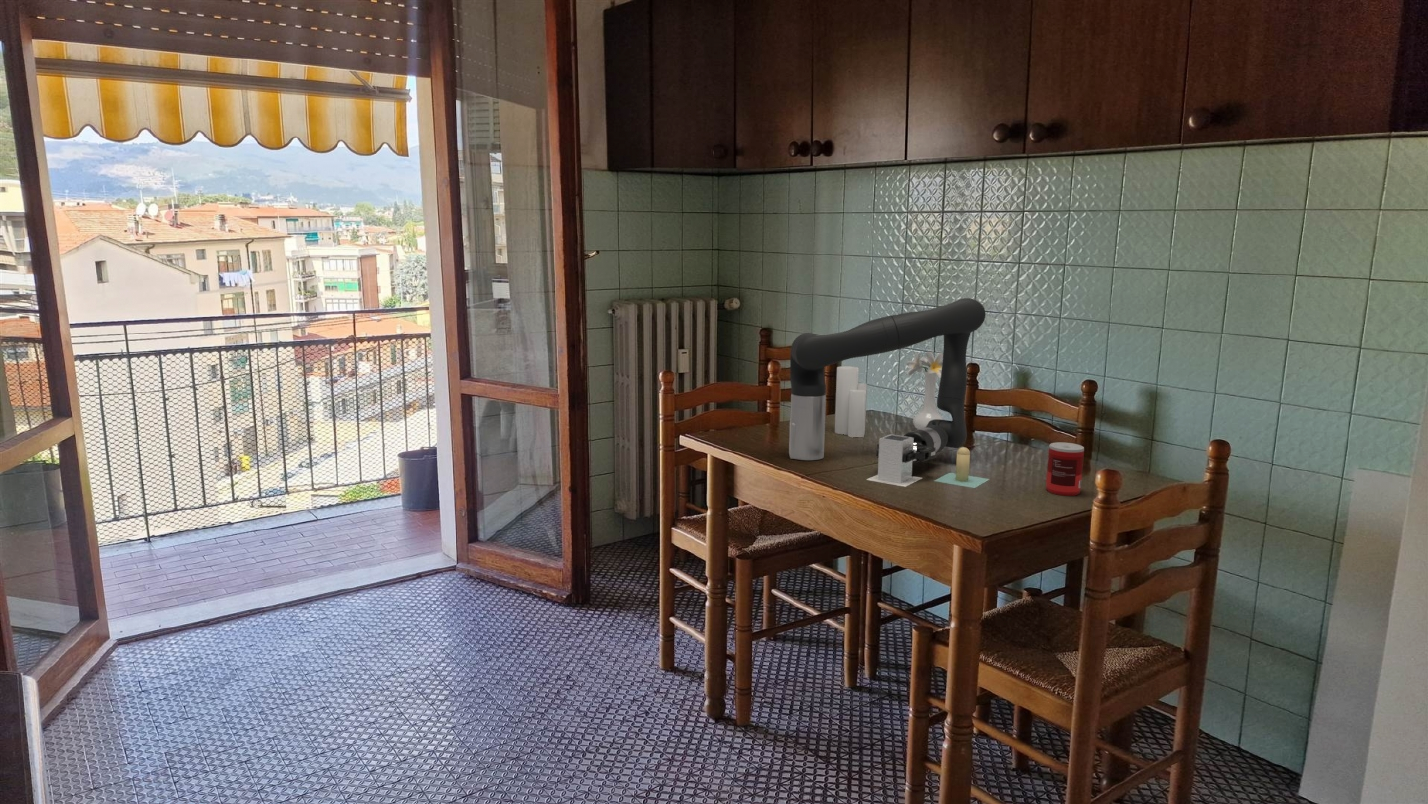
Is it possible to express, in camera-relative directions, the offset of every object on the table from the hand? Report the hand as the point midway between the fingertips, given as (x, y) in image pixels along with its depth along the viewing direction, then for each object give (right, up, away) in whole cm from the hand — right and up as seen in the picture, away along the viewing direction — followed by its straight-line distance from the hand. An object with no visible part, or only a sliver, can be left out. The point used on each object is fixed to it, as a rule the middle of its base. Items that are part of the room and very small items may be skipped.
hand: (891, 456), depth 210 cm
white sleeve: (+1, -6, +3) cm, 6 cm away
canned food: (+40, -8, -1) cm, 41 cm away
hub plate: (+17, -7, +3) cm, 19 cm away
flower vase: (+24, +3, +64) cm, 68 cm away
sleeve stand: (+1, -7, +3) cm, 8 cm away
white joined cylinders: (0, +3, +60) cm, 60 cm away
